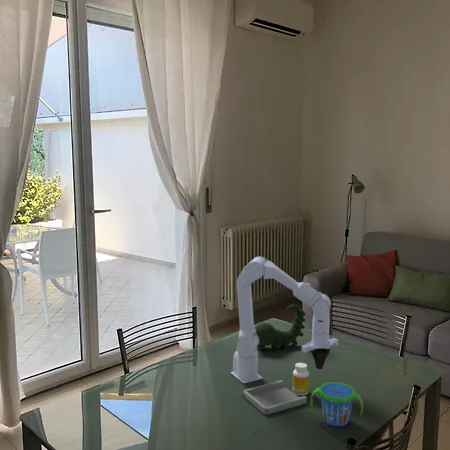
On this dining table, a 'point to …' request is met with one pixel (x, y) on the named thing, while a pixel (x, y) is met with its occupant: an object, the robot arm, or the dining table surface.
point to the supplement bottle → (300, 379)
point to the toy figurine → (277, 337)
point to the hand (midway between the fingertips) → (319, 368)
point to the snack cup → (336, 402)
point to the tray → (272, 397)
